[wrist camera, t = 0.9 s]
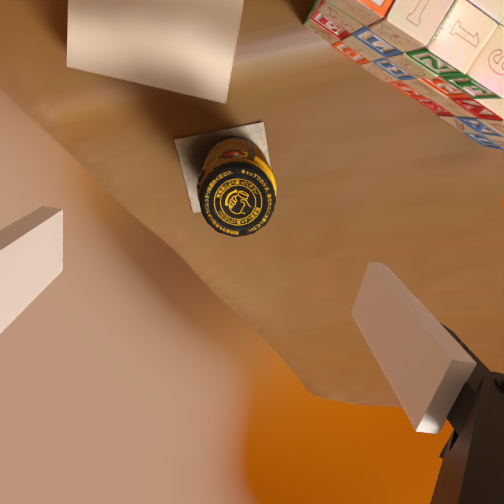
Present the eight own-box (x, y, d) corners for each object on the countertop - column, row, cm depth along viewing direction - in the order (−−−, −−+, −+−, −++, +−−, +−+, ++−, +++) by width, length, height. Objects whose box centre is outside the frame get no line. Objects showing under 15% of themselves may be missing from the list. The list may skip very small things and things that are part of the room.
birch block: (98, -104, 27) (71, -144, 23) (254, -58, 29) (258, -87, 24) (90, 70, 32) (66, 66, 27) (226, 102, 33) (224, 103, 29)
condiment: (275, 196, 37) (293, 240, 26) (193, 212, 37) (176, 261, 26) (263, 121, 34) (277, 134, 23) (174, 139, 34) (146, 159, 23)
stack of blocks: (529, 86, 34) (679, 81, 22) (483, 147, 36) (599, 171, 25) (340, -54, 29) (409, -151, 18) (299, 26, 31) (338, -15, 20)
